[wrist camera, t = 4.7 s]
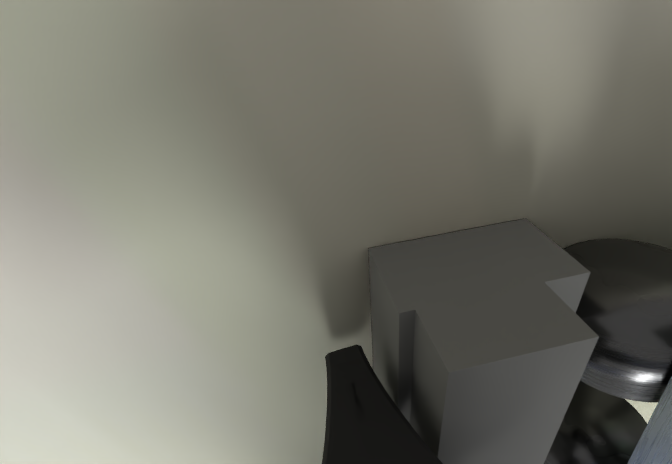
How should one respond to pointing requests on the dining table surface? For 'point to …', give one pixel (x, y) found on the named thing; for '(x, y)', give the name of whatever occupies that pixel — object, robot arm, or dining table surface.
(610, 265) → the trolley
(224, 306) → the dining table surface
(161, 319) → the dining table surface
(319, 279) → the dining table surface
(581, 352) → the block
